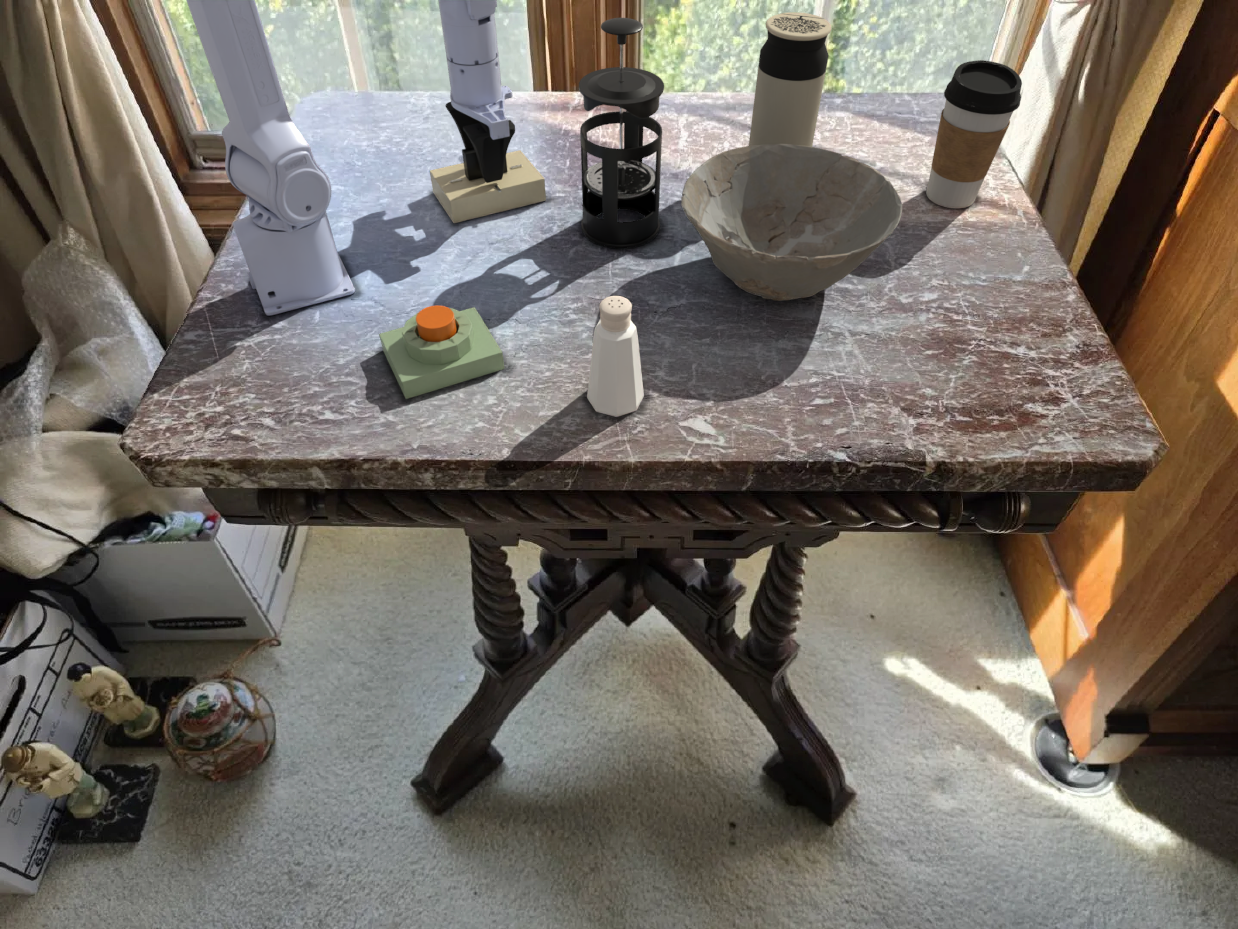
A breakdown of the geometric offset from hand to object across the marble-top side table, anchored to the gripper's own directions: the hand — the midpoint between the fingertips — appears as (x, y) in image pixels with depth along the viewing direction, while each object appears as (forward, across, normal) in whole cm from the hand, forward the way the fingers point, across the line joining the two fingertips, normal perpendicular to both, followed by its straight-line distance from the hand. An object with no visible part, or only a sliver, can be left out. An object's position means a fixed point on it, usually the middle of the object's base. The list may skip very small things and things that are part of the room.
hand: (486, 170), depth 103 cm
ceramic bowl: (+4, -30, -23) cm, 38 cm away
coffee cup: (+4, -25, -52) cm, 58 cm away
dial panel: (+3, 0, 0) cm, 3 cm away
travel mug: (+4, -10, -36) cm, 38 cm away
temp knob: (0, 0, 0) cm, 0 cm away
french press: (+4, -13, -12) cm, 18 cm away
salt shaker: (+4, -40, +2) cm, 40 cm away
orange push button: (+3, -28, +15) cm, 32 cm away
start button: (0, -28, +15) cm, 31 cm away
